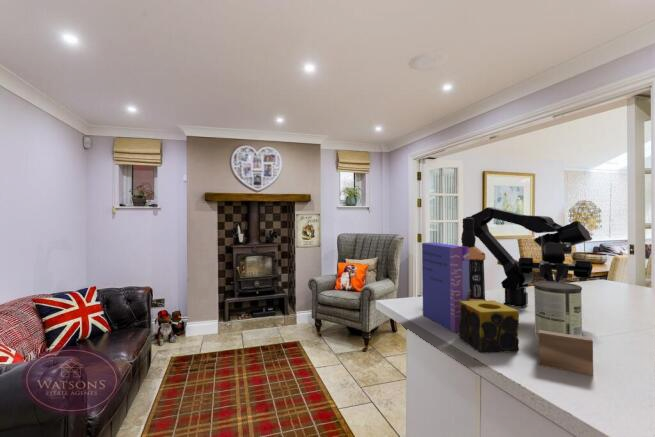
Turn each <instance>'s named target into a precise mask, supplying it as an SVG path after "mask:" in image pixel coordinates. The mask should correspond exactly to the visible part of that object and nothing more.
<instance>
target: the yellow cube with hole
mask: <svg viewBox="0 0 655 437" xmlns="http://www.w3.org/2000/svg"><path fill="white" fill-rule="evenodd" d="M459 305H460V313H461V318H460V323H459V333H458V338H459V339H460V340H462V341H463V342H464V343H466V344H467V345H469V347H471V348H472V349H474V350H475V351H476V352H478V353H480V354H489V353H490V354H492V353H509V352H515V353H516V352H519V351H520V349H519V344H520V341H519V340H520V339H519V325H520V324H519V323H520V322H519V321H520V316H519V310H517V309H515V308H513V307H512V306H509V305H504V304H503V303H500V302H499V301H496V300H494V299H493V300H491V299H490V300H486V301H460V303H459Z"/></svg>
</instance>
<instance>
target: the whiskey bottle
mask: <svg viewBox="0 0 655 437" xmlns="http://www.w3.org/2000/svg"><path fill="white" fill-rule="evenodd" d="M461 223H462V234H461V239H460V240H461V246H464V247H469V293H470V301H487V299H486V293H485V292H486V287H485V284H486V283H485V262H484V261H485V260H486V253H485V252H483V251H482V250H481V249H479V248H478V247H477V246H476V241H477V240H476V239H477V237H476V236H475V233H474V219H473V218H466V217H463V218H462V222H461Z"/></svg>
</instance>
